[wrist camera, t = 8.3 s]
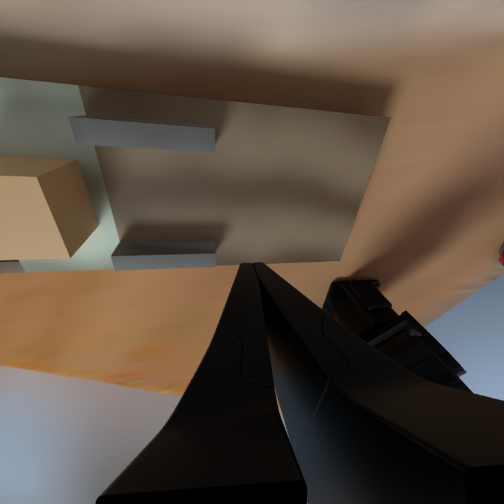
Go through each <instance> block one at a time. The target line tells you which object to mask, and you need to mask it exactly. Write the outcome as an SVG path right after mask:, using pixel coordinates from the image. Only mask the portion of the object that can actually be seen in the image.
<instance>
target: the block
mask: <svg viewBox="0 0 504 504" xmlns="http://www.w3.org/2000/svg"><path fill="white" fill-rule="evenodd" d="M97 227H98V225H97V222H96V218H95V215H94V212H93V209H92V206H91V202H90V199H89V196H88V193H87V190H86V186H85V183H84V180H83V177H82V173H81V170H80V167H79V164H78V161H77V159H61V158H41V157H21V156H1V155H0V260H28V259H67V258H71V257H72V256H73V255H74V254H75V253H76V251H77V250H78V249H79V248H80V247H81V246H82V245H83V243H84V242H85V241H86V240H87V239H88V238H89V236H90V235H91V234H92V233H93V232H94V231H95V230H96V228H97Z"/></svg>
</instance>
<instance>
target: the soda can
mask: <svg viewBox="0 0 504 504" xmlns="http://www.w3.org/2000/svg"><path fill="white" fill-rule="evenodd" d="M499 263H500V265H501V266H502V267H504V244H503V246H502V248H501V250H500V257H499Z"/></svg>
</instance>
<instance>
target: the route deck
mask: <svg viewBox="0 0 504 504" xmlns="http://www.w3.org/2000/svg"><path fill="white" fill-rule="evenodd" d="M389 121H390V118H389V117H380V116H370V115H360V114H351V113H341V112H332V111H322V110H312V109H303V108H293V107H283V106H274V105H264V104H254V103H245V102H235V101H225V100H216V99H206V98H196V97H187V96H177V95H167V94H158V93H148V92H139V91H129V90H119V89H110V88H100V87H90V86H81V85H71V84H61V83H52V82H42V81H32V80H23V79H13V78H3V77H0V155H1V156H21V157H41V158H61V159H77V161H78V164H79V167H80V170H81V173H82V177H83V180H84V183H85V186H86V190H87V193H88V196H89V199H90V202H91V206H92V209H93V212H94V215H95V218H96V222H97V225H98V227H97V228H96V230H95V231H94V232H93V233H92V234H91V235H90V236H89V238H88V239H87V240H86V241H85V242H84V243H83V245H82V246H81V247H80V248H79V249H78V250H77V251H76V253H75V254H74V255H73V256H72V257H71V258H67V259H28V260H0V273H23V272H51V271H78V270H105V269H115V270H140V269H167V268H194V267H216V265H240V264H241V263H251V264H252V263H253V262H263V263H264V264H270V263H297V262H325V261H340V259H341V256H342V253H343V250H344V248H345V245H346V242H347V239H348V236H349V234H350V231H351V228H352V225H353V222H354V220H355V217H356V214H357V211H358V208H359V206H360V203H361V200H362V197H363V194H364V191H365V189H366V186H367V183H368V180H369V177H370V175H371V172H372V169H373V166H374V163H375V161H376V158H377V155H378V152H379V149H380V147H381V144H382V141H383V138H384V135H385V132H386V130H387V127H388V124H389Z"/></svg>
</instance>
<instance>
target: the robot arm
mask: <svg viewBox="0 0 504 504" xmlns="http://www.w3.org/2000/svg"><path fill="white" fill-rule="evenodd" d="M380 284H381V283H380V282H379V281H378V280H362V281H344V282H334V283H332V284H331V286H330V289H329V292H328V294H327V297H326V300H325V303H324V306H323V308H322V309H321V308H320V307H318V306H317V305H316V304H314V303H313V302H312V301H311V300H309V299H308V298H307V297H306V296H304V295H303V294H302V293H301V292H299V291H298V290H297V289H296V288H294V287H293V286H292V285H291V284H289V283H288V282H287V281H286V280H284V279H283V278H282V277H280V276H279V275H278V274H277V273H275V272H274V271H273V270H272V269H270V268H269V267H268V266H267V265H265V264H264V263H263V262H253V263H252V264H251V263H241V264H240V266H239V269H238V272H237V274H236V277H235V280H234V283H233V285H232V288H231V291H230V293H229V296H228V299H227V301H226V304H225V307H224V310H223V312H222V315H221V318H220V320H219V323H218V325H217V328H216V331H215V333H214V336H213V338H212V340H211V343H210V345H209V347H208V349H207V351H206V353H205V355H204V357H203V359H202V361H201V363H200V365H199V367H198V368H197V370H196V372H195V374H194V376H193V377H192V379H191V381H190V383H189V385H188V387H187V388H186V390H185V392H184V394H183V396H182V398H181V399H180V401H179V403H178V405H177V406H176V408H175V410H174V411H173V413H172V415H171V416H170V418H169V419H168V421H167V422H166V424H165V425H164V426H163V428H162V429H161V430H160V432H159V433H158V434H157V435H156V436H155V437H154V438H153V439H152V441H151V442H150V443H149V444H148V445H147V446H146V447H145V448H144V449H143V450H142V451H141V452H140V453H139V455H137V457H136V458H135V459H134V460H133V461H132V462H131V463H130V464H129V465H128V466H127V467H126V468H125V469H124V471H123V472H122V473H121V474H120V475H119V476H118V477H117V478H116V479H115V480H114V481H113V482H112V483H111V484H110V485H109V487H108V488H107V489H106V490H105V491H104V492H103V493H102V494H101V495H100V496H99V497H98V498H97V500H96V504H307V503H308V504H504V401H503V400H499V399H494V398H490V397H487V396H482V395H478V394H474V393H473V392H472V391H471V390H470V389H469V388H468V387H467V386H466V385H465V384H464V383H463V382H462V380H461V379H460V378H459V377H460V376H461V375H463V374H465V373H466V371H465V370H464V369H463V368H462V366H461V365H460V364H459V363H458V362H457V361H456V360H455V359H454V358H453V357H452V356H451V354H450V353H449V352H448V351H447V350H446V349H445V348H444V347H443V346H442V345H441V344H440V343H439V342H438V341H437V340H436V339H435V338H434V337H433V336H432V335H431V334H430V333H429V332H427V330H426V329H425V328H424V327H423V326H422V325H421V324H420V323H419V322H417V321H416V320H415V319H414V318H413V317H412V316H411V315H410V314H409V313H408V312H407V311H404V312H403V313H401V315H400V316H399V315H398V314H397V313H396V312H395V311H394V310H393V309H392V308H391V307H392V304H391V303H390V302H389V301H388V300H387V299H386V298H385V297H384V296H383V294H382V293H381V292H380V291H379V290H378V288H379V286H380ZM274 386H275V387H274ZM274 388H275V390H276V393H277V397H278V400H279V404H280V407H281V411H282V414H283V418H284V421H285V425H286V428H287V432H288V435H287V432H286V430H285V427H284V424H283V422H282V419H281V416H280V413H279V409H278V405H277V400H276V394H275V390H274ZM288 436H289V437H288ZM289 439H290V440H289Z"/></svg>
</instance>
